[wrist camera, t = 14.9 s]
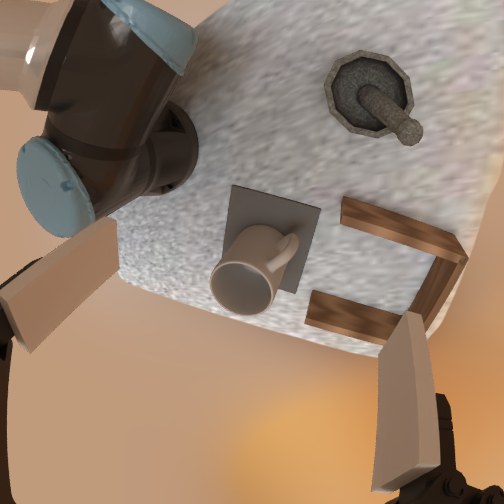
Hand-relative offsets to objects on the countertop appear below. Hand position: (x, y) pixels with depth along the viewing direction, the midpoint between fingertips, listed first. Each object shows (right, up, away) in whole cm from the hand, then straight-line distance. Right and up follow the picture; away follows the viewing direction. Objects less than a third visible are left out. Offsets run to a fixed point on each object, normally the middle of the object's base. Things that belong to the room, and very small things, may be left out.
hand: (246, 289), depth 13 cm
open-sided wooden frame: (+20, -1, +31) cm, 36 cm away
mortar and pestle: (+15, +21, +20) cm, 33 cm away
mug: (+3, +3, +34) cm, 34 cm away
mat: (+2, +3, +34) cm, 34 cm away
